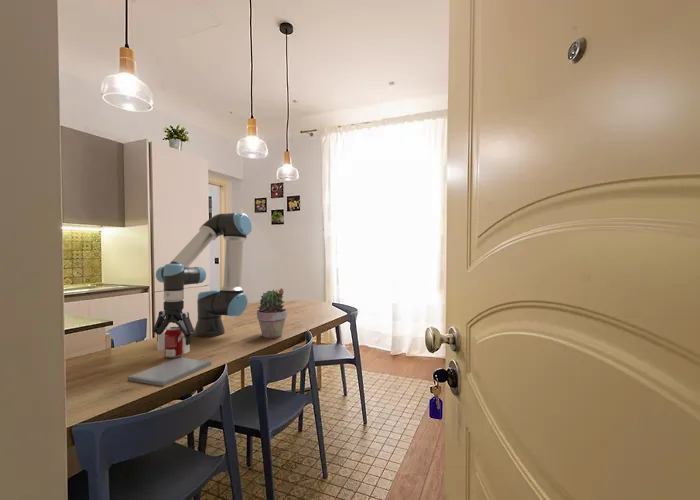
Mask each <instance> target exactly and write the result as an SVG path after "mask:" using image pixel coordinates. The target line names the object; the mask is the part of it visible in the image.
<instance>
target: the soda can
mask: <svg viewBox="0 0 700 500" xmlns="http://www.w3.org/2000/svg"><path fill="white" fill-rule="evenodd" d="M165 330H166V331H165V332H164V333H165V335H164V351H163V352H164V354H163V355H164V357H165V358H167V359H176V358H179V357H180V356H182V355H183V354H184V353H183V337H184V334H183V333H182V331H181V329H180V328H179V326H169V327H166V329H165Z"/></svg>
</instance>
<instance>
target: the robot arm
mask: <svg viewBox="0 0 700 500" xmlns="http://www.w3.org/2000/svg"><path fill="white" fill-rule="evenodd" d="M252 229H253V225H252V221H251V219H250V217H249V216H248V215H247V214H246V213H244V212H229V213H219V214H215V215H213V216H212V217H211V218H209V219H207V220H206V221H205V222H204V223H203V224H202V225H201V226H200V227H199V230H198V232H197V233H196V234H195V235H194V236H193V237H192V238H191V240H190V241H189V242H188V243H187V244H186V245H185V246H184V247H183V248H182V250H180V251H179V253H177V255H176V256H175V257H174V258H173V259H172V260H171V261H170V263H166V264H164V266H161V267H158V268H157V270H156V271H155V278H156V280H157V281H158V282H160V283H162V284H163V300H164V302H163V310H161V311H159V312H158V317H157V319H156V322H155V323H154V327H153V329H152V333H155V334H156V341H157V351H161V350H165V332H164V331H165V330H166V329H167V328H168V326H169V324H171V323H172V324H175V325H177V327H179V328H180V329H181V331H182V333H183V354H187V353H190V351H191V350H190V347H191V344H192V342H191V341H192V339H191V337H192V336H195V337H198V338H209V337H216V336H221V335H223V334H225V333H226V331H225V326H224V323H223V320H222V316H229V317H238V316H241V315H242V314H243V313H244V312H245V310H246V309H247V306H248V301H249V300H248V298H247V295H246V294H244V289H243V288H242V285H241V284H242V270H243V251H244V250H243V249H244V242H245V241H246V240H247V236H249V235H250V234H251V232H252ZM221 236H223V239H224V240H225V255H224V269H223V270H224V273H223V285H222V287H221V288H220V289H213V290H212V289H211V290H205V291H200V292H199V293H198V294H197V298H196V299H197V302H196V303H197V306H196V307H197V321H196V324H195V327H193V324H192V322H191V319H190V312H188V311H187V312H186V311H185V312H183V309H184V305H185V303H184V299H185V294H184V291H185V285H187V286H189V285H198V284H202V283H203V282H205V280H206V278H207V273H206V272H207V271H206V269H204V268H203V267H200V266H192V267H190V266H191V265H192V264H193V262H194V261H195V260H196V259H197V258H198V257H199V256H200V255H201V253H202V252H203V251H204V250H205V249H206V248H207V247H208V246H209V244H210V243H211V242H213V241H215V240H216V239H217V238H218V237H221Z"/></svg>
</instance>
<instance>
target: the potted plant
mask: <svg viewBox="0 0 700 500" xmlns="http://www.w3.org/2000/svg"><path fill="white" fill-rule="evenodd" d="M283 297H284V288H280V289H279V290H278V289H276V290H274V289H272V290H267V291H266V292H263V293H262V295H261V296H260V300H259V304H260V305H259V306H258V307H255V308H253V309H258V310H256V318H257V320H258V323H259V328H260V331H261V336H262V337H263V338H266V339H274V338H279V337H281V336H282V335H283V330H284V325H285V323H286V319H287V318H288V310H287V309H288V308H284V307H285V304H284V303H285V301H284V300H283ZM255 304H257V302H255V303H254V305H255Z"/></svg>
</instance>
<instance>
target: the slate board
mask: <svg viewBox="0 0 700 500" xmlns="http://www.w3.org/2000/svg"><path fill="white" fill-rule="evenodd" d="M211 365H212V361H211V360H203V359H202V360H201V359H196V358H195V359H194V358H189V357H188V358H186V357H180V356H179V357H177V358H172V360H169V361H168V360H167V361H166V362H163V363H160V364H158V365H155V366H153V367H150V368H148V369H144V370H142V371H139V372H137V373H134V374H132V375H129V376H128V377H127V381H131V382H136V383H142V384H147V385H148V384H149V385H154V386H155V385H156V386H161V387H166V386H168V385H170V384H172V383H174V382H176V380H177V381H178V379H179V380H180V379H183V378H184V377H187V376H189V375H192V374H193V373H196V372H198V371H200V370H202V369H205V368H207V367H209V366H211ZM169 383H170V384H169ZM167 384H168V385H167ZM165 385H166V386H165Z"/></svg>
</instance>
